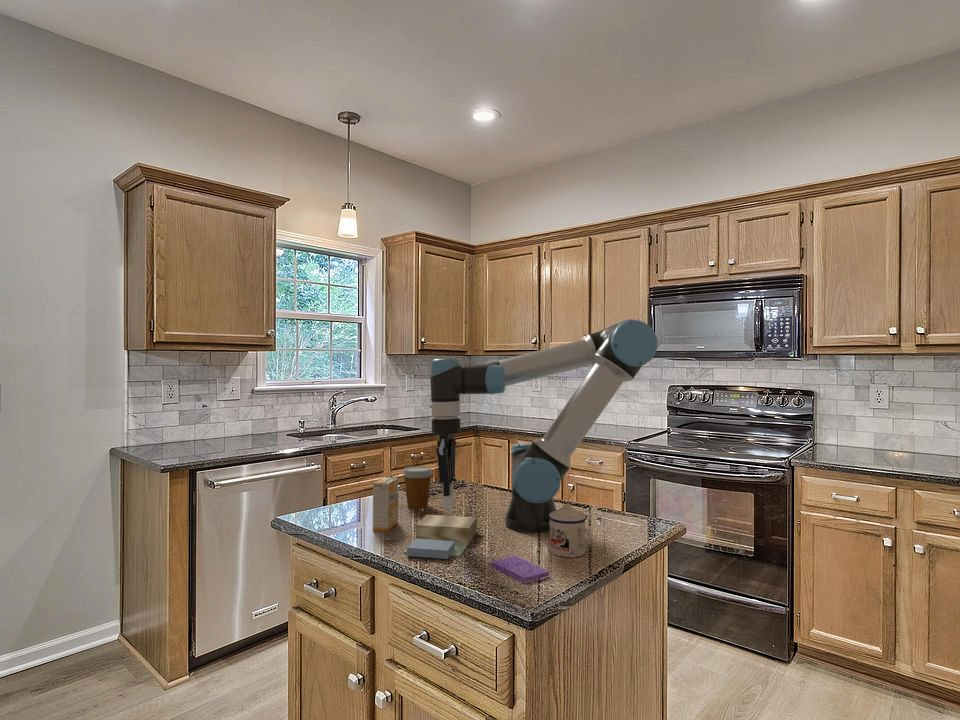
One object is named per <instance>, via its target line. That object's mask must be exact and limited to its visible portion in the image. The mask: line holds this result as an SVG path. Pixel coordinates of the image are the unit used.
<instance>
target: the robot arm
mask: <svg viewBox="0 0 960 720" xmlns="http://www.w3.org/2000/svg"><path fill="white" fill-rule="evenodd" d="M657 338H658V337H657V335H656V333H655V331H654V329H653V328H652V327H651V326H650V325H649V324H647V323H646V322H643V321H641V320H638V319H625V320H623V321H621V322H618V323H615V324H612V325H610V326H608V327H607V328H604V329H602V330H599V331H597V332H593V333H590V334H587V335H586V337H585V338H584V339H579V340H576V341H572V342H571V341H570V342H568V343H565V344H564V343H563V344H560V345H559V344H558V345H555V346H551V347H548V348H544V349H540V350H535V351H531V352H528V353H524V354H519V355H515V356H513V357H508V358H504V359H500V360H498V361H497V360H495V361H492V362H488V363H482V364H477V365H461V364H460V360H459V358H434V359H432V360H431V362H430V376H429V379H430V381H429V382H430V400H431V404H430V405H429V407H428V408H429V409H431V416H432V417H433V418H432V419H431V432H432V433H433V434H438V435H439V437H438V440H437V446H436V449H435V452H436V457H437V465H438V468H437V469H438V479H439V481H438V484H441V499H442V500H441V501H442V502H441V503H442V505H441V506H442V509H454V507H455V503H454V502H455V501H454V499H455V498H454V497H455V496H454V482H457V478H456V449H457V448H456V447H457V441H456V439H455V437H454V434H457V433H460V432H461V419H460V416H461V400H460V399H461V398H460V395H489V394H490V395H494V394H502V393H504V392H505V390H506V387H507V386H511V385H516V384H520V383H523V382H528V381H533V380H536V379H541V378H544V377H548V376H552V375H556V374H561V373H565V372H569V371H574V370H577V369H580V368H585V367H589V366H592V368H590V370H589V371H588V373H587V374H586V376H585V377H584V379H583V380H582V381H581V383H580V384H579V385H578V387H577V389H576V390H575V391H574V393H573V394H572V396H570V398H569V400H568V402H567V403H566V404H565V405H564V407H563V408H562V409H561V411H560V412H559V414H558V415H557V417H556V418H555V419H554V421H553V423H552V424H551V426H550V427H549V428H548V430H547V431H546V432H545V434H544V435H543V437H541V438H536V439H533V440H532V442H531V443H514V444H513V446H512V447H511V453H510V454H511V498H510V501H509V505H508V508H507V510H506V515H505V525H506V526H505V527H506V528H509V529H512V530H514V531H519V532H524V533H525V532H526V533H546V532H550V519H549V514H550V513H551V512H553V511H556V510H557V506H556V504H555V500H554V497H555V496H556V495H557V493H558V492H559V489H560V487H561V482H562V480H563V479H564V477H565V475H566V474H567V473H568V471H569V470H570V468H571V467H572V466H571V457H572V455H573V453H574V452H575V451H576V450H577V448H578V447H579V445H580V444H581V443H582V442H583V440H584V438H585V437H586V435H587V434H588V433H589V431H590V430H591V428H592V427H593V426H594V424H595V423H596V421H597V420H598V419H599V417H600V416H601V415H602V413H603V411H604V410H605V409H606V407H607V406H608V405H609V403H610V402H611V400H612V398H613V397H614V396H615V394H616V393H617V392H618V390H619V389H620V387H621V386H622V385H623V383H626V382H629V381H630V382H631V381H633V380H634V378H635V377H636V375H637V374H638V372H639V371H640V370H641V369H642V367H643V366H644V365H646V364H648V363H649V362H650V361H651V360H652V359H653V358H654V357H655V355H656V353H657V350H658V345H659V343H658V339H657Z"/></svg>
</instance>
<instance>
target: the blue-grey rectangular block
mask: <svg viewBox="0 0 960 720" xmlns="http://www.w3.org/2000/svg"><path fill="white" fill-rule="evenodd" d="M406 549H407V553H406V556H407V557H415V558H418V557H419V558H426V559H427V558H428V559H429V558H430V559H442V560H448V559H449V558H450V557H451V556H450V555H451V554H452V553H453V551H454V550H455V541H444V540H430V539H416V538H415V539H414V540H413V541H412V542H411V543H409V544H408V546H407V547H406Z"/></svg>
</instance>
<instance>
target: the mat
mask: <svg viewBox="0 0 960 720" xmlns="http://www.w3.org/2000/svg"><path fill="white" fill-rule="evenodd" d="M469 544H470V543H462V542H455V550H454V551H453V553H452V554H451V555H450V557H456V558H457V557H458V558H459V557H461V556H462V554H463V553H464V552H465V550H466V549H467V547H468V546H469ZM403 554H407V548H406V549H405V550H404V551H403Z"/></svg>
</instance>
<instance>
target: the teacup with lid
mask: <svg viewBox="0 0 960 720" xmlns="http://www.w3.org/2000/svg"><path fill="white" fill-rule="evenodd" d="M549 519H550V531H549V552H550V553H551V554H552V553H553V554H552V555H554V554H555V555H554V556H556V555H559V556H558V557H560V556H566V557H565V558H569V557H570V556H578V555H581V554H583V553H584V552H585V553H586V549H587V548H589V546H590V545H591V543H592V539H593V538H592V537H593V536H592V532H591V531H590V529H589V528H588V527H586V521H587V516H586V514H585V513H584V512H582V511H579V510H577V509H575V508H573V507H572V504H571V503H564V504H563V506H562V507H560V508H558V509H556V511H553V512H551V513H550V514H549ZM585 553H584V554H585ZM584 554H583V555H584Z"/></svg>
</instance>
